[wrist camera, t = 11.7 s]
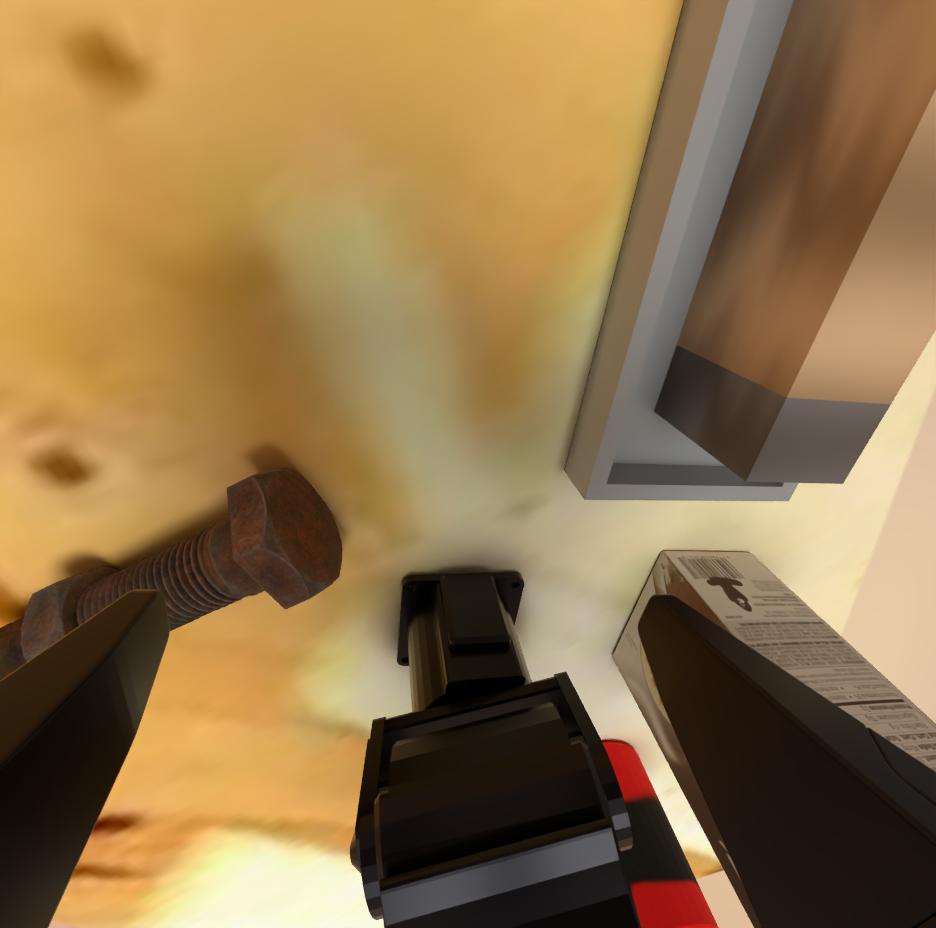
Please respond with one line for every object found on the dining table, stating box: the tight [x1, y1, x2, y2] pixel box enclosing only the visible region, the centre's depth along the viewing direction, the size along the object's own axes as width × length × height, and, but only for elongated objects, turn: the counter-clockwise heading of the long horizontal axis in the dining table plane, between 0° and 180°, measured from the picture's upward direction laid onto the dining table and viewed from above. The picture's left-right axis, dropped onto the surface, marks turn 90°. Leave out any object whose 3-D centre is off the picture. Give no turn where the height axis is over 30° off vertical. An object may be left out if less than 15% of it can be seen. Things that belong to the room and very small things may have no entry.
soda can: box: [602, 741, 718, 928], centre depth 32 cm, size 8×8×12 cm
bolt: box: [0, 468, 342, 680], centre depth 19 cm, size 6×5×15 cm
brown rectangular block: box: [654, 0, 936, 484], centre depth 15 cm, size 14×4×6 cm, turn 173°
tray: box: [565, 0, 798, 501], centre depth 17 cm, size 20×11×2 cm, turn 173°
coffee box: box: [613, 551, 936, 928], centre depth 22 cm, size 9×6×16 cm
